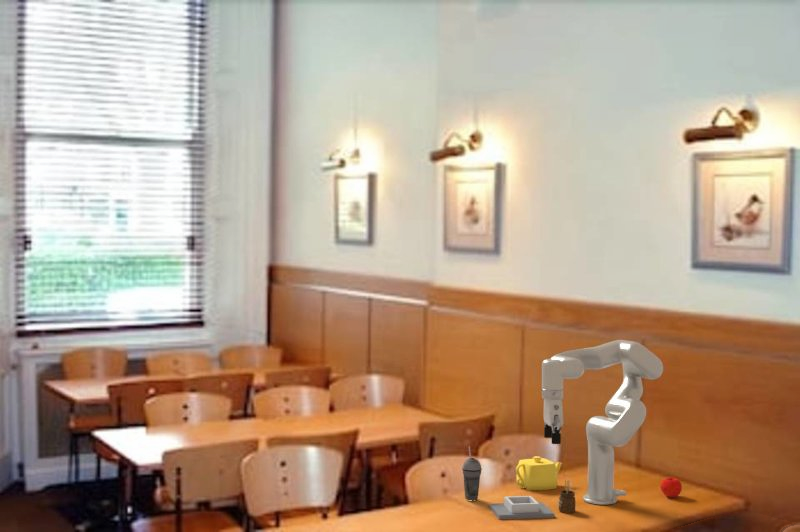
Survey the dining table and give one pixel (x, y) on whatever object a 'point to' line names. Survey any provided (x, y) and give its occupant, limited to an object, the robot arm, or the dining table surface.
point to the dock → (521, 508)
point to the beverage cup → (471, 477)
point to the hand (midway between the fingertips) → (552, 440)
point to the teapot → (537, 473)
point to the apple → (671, 487)
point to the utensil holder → (567, 500)
